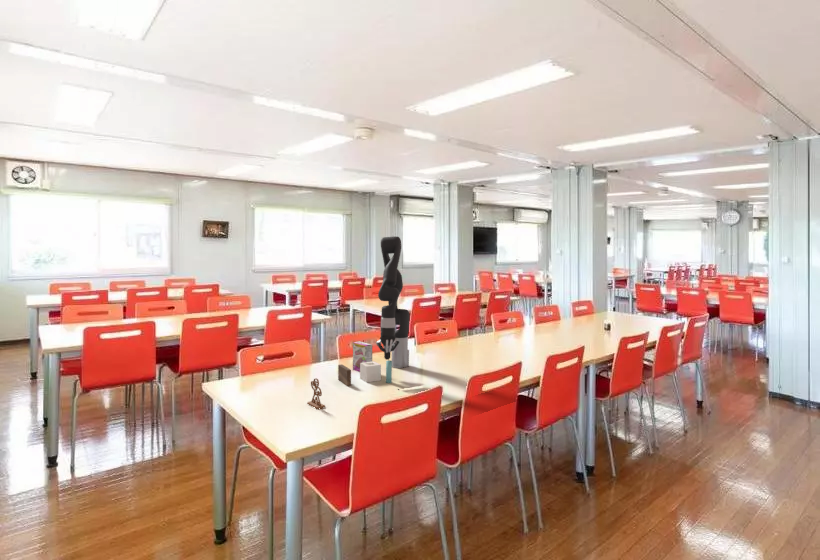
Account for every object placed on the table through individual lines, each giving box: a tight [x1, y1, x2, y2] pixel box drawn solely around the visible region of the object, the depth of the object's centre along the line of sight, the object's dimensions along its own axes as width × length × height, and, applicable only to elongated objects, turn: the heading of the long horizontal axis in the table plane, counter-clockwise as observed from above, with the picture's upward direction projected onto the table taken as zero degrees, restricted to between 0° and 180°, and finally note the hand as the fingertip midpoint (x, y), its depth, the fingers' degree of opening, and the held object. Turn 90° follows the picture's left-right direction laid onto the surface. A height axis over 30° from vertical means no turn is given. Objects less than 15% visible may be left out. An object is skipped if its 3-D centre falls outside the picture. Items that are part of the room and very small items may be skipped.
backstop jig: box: [337, 363, 352, 387], centre depth 240 cm, size 26×12×9 cm, turn 119°
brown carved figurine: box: [306, 378, 326, 410], centre depth 203 cm, size 9×4×12 cm, turn 42°
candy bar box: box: [352, 340, 373, 373], centre depth 257 cm, size 11×5×16 cm, turn 47°
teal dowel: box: [385, 359, 393, 384], centre depth 236 cm, size 3×3×12 cm
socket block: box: [359, 360, 382, 383], centre depth 241 cm, size 8×8×8 cm
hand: (387, 359), depth 245 cm, fingers closed
